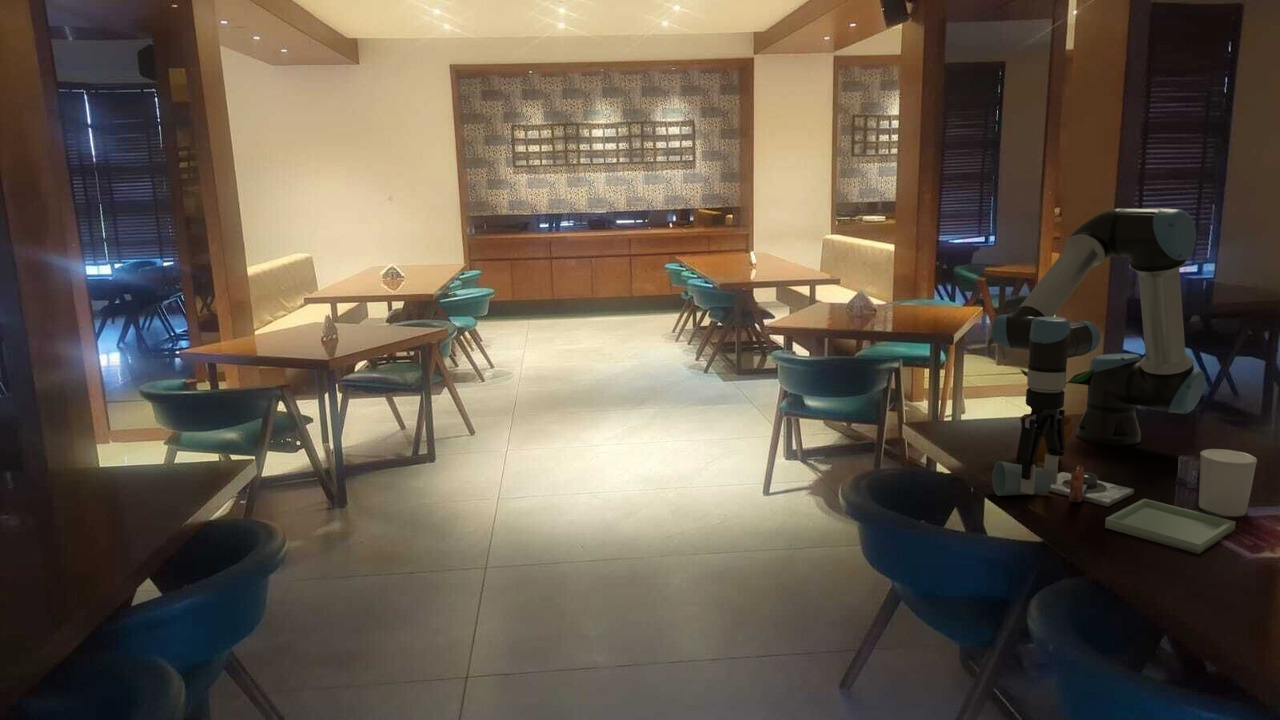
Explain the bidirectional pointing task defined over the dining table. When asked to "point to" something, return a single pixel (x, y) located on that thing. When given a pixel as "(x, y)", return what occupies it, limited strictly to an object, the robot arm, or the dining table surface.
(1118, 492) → the crank plate
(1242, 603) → the dining table surface
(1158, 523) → the tray
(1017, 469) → the cup
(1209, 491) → the candle holder
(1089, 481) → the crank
